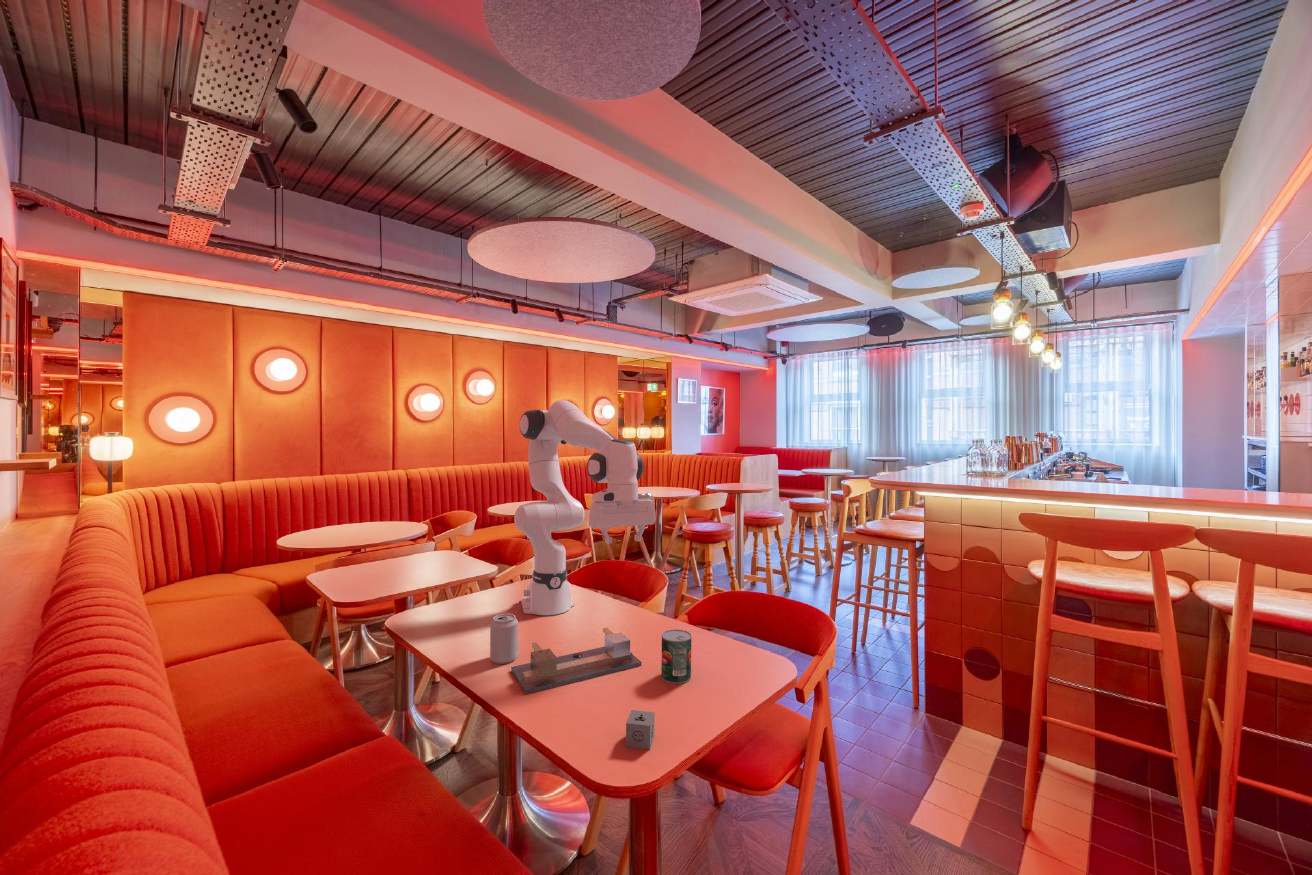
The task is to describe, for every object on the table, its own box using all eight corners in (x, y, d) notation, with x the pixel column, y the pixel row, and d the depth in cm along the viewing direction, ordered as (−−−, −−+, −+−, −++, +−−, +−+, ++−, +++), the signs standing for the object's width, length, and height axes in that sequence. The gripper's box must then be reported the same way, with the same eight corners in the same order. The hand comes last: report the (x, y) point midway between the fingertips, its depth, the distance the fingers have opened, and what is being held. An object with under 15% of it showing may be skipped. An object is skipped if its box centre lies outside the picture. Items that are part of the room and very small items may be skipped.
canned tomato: (655, 675, 135) (655, 633, 135) (678, 666, 140) (678, 626, 140) (674, 687, 129) (674, 643, 128) (697, 678, 133) (697, 636, 133)
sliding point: (596, 647, 148) (596, 629, 148) (612, 644, 151) (612, 625, 151) (613, 663, 138) (613, 643, 138) (630, 659, 141) (630, 639, 141)
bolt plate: (511, 670, 137) (511, 646, 137) (619, 646, 152) (619, 624, 152) (525, 694, 124) (525, 667, 124) (641, 665, 140) (641, 641, 140)
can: (509, 650, 149) (509, 609, 149) (522, 659, 144) (523, 616, 143) (485, 658, 144) (485, 616, 143) (498, 667, 138) (498, 623, 138)
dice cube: (625, 747, 104) (626, 723, 104) (631, 733, 109) (631, 709, 109) (650, 750, 103) (650, 725, 103) (654, 735, 108) (654, 712, 108)
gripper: (649, 492, 157) (649, 538, 156) (586, 495, 147) (587, 543, 146) (659, 493, 152) (660, 540, 151) (594, 496, 142) (595, 546, 141)
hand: (623, 542), depth 149 cm, fingers open, 8 cm apart
